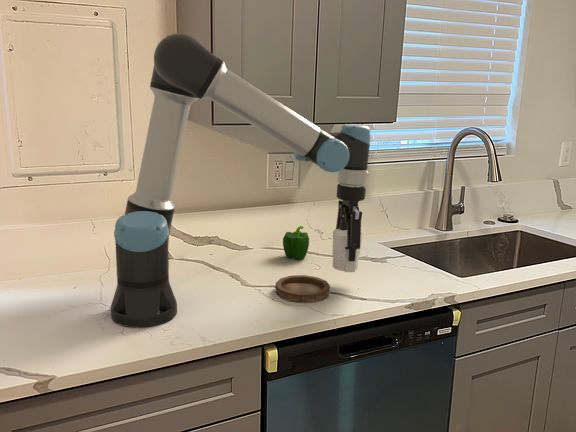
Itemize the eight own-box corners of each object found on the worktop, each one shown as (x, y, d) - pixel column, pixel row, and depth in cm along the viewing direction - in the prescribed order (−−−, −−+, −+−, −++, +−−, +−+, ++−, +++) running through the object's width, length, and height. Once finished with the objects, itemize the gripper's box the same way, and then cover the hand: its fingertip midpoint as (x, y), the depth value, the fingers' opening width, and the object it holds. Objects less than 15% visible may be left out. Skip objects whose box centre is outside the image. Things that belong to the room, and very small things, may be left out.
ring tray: (280, 304, 141) (281, 296, 141) (272, 283, 155) (272, 276, 154) (335, 301, 144) (335, 293, 143) (321, 281, 157) (322, 274, 157)
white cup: (358, 274, 150) (361, 237, 147) (328, 270, 151) (331, 234, 149) (360, 264, 157) (363, 230, 155) (332, 261, 159) (335, 227, 156)
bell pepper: (291, 263, 171) (292, 232, 169) (278, 255, 178) (279, 225, 175) (314, 260, 175) (316, 229, 173) (301, 252, 182) (302, 222, 180)
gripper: (378, 192, 139) (370, 279, 145) (353, 177, 159) (347, 254, 164) (349, 192, 138) (342, 280, 144) (328, 176, 157) (322, 254, 163)
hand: (345, 266), depth 154 cm, fingers closed on white cup, 8 cm apart
